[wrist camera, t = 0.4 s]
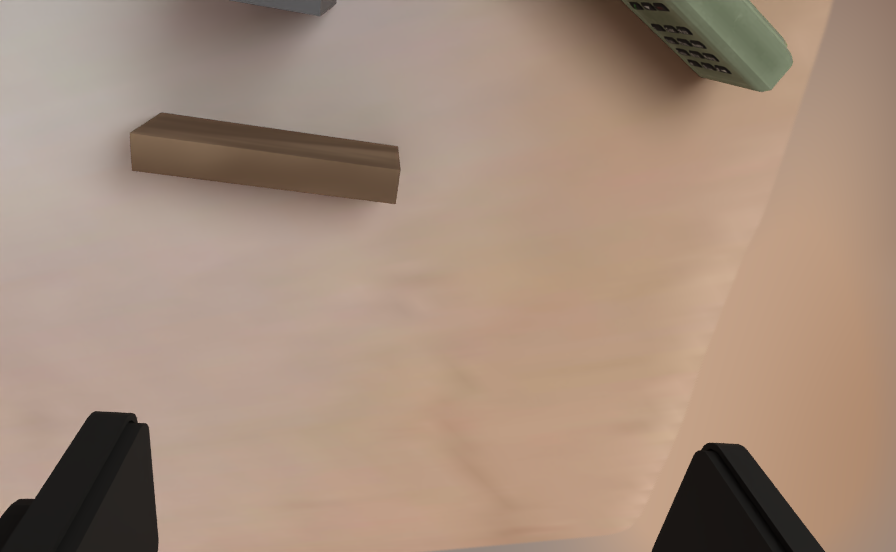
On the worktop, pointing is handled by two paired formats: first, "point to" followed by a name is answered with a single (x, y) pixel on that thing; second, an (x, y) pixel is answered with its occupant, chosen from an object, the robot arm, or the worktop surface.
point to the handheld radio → (719, 39)
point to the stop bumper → (265, 158)
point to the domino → (295, 5)
